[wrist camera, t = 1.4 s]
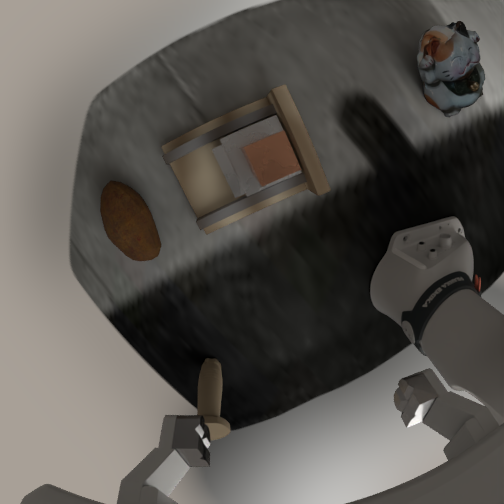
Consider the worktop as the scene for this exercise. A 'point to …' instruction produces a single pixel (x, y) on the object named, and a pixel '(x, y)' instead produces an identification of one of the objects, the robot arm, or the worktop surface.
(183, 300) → the worktop surface
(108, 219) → the potato
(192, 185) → the frame
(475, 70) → the lucky cat figurine
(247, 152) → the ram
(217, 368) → the handle
